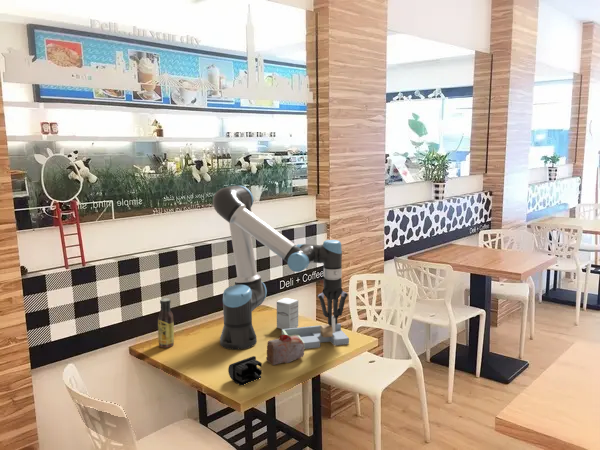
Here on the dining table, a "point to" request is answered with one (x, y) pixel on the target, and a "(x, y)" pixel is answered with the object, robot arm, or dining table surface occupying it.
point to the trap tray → (317, 336)
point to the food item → (284, 349)
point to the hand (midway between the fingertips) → (332, 331)
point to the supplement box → (287, 313)
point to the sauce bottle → (165, 325)
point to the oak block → (326, 330)
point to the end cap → (245, 370)
